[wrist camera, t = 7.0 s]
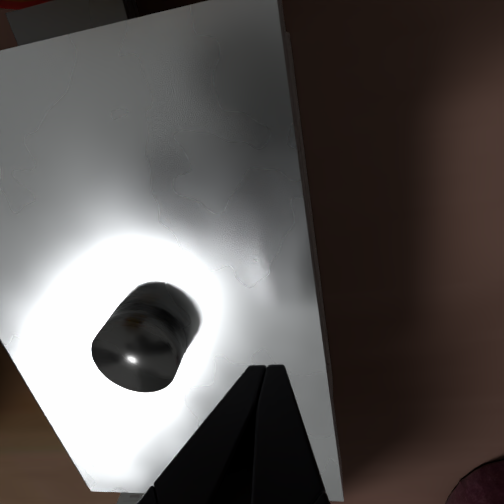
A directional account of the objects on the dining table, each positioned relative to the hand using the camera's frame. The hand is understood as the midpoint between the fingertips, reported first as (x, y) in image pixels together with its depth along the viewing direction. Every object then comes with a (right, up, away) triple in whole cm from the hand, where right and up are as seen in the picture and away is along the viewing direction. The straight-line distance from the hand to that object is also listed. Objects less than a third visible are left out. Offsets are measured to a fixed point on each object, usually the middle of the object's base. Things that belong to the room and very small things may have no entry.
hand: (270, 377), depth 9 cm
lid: (-4, +1, +3) cm, 5 cm away
